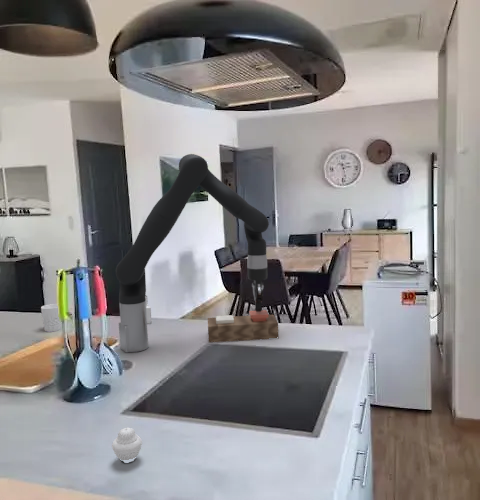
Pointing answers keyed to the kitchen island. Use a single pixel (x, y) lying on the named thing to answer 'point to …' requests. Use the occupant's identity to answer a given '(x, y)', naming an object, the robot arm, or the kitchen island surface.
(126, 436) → the muffin
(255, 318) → the red square flowerpot
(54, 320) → the white cup
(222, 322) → the white block
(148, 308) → the medicine bottle
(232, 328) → the button box
